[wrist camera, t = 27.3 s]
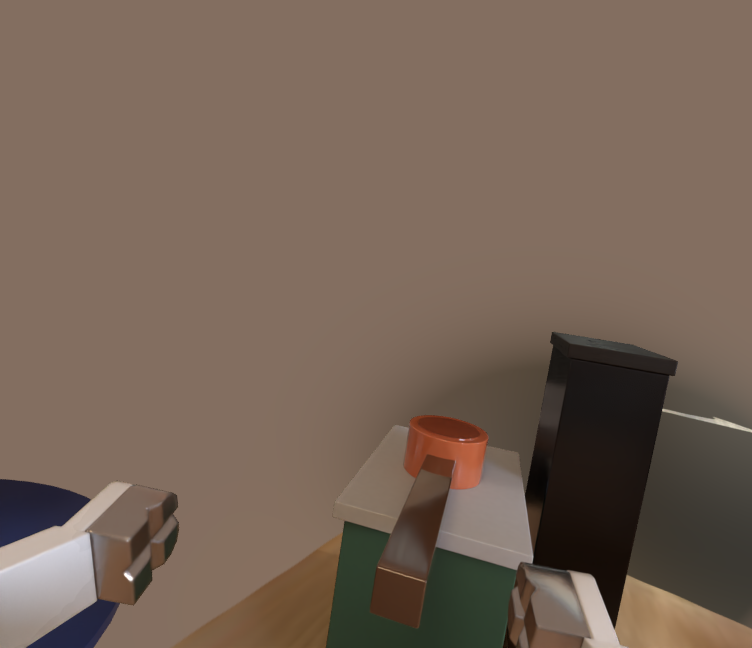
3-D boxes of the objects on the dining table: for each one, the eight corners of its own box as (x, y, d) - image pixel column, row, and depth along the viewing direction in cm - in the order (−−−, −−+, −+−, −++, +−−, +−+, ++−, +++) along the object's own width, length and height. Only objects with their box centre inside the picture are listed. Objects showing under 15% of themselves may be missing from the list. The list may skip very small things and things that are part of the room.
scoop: (325, 599, 18) (337, 522, 18) (410, 449, 36) (417, 409, 36) (466, 646, 17) (481, 564, 16) (482, 466, 35) (489, 425, 34)
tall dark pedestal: (502, 690, 33) (569, 343, 31) (501, 601, 43) (552, 331, 40) (599, 724, 32) (678, 361, 29) (575, 624, 41) (633, 344, 39)
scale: (299, 742, 28) (334, 501, 26) (370, 581, 43) (394, 424, 41) (482, 820, 25) (533, 556, 23) (488, 619, 40) (518, 452, 39)
